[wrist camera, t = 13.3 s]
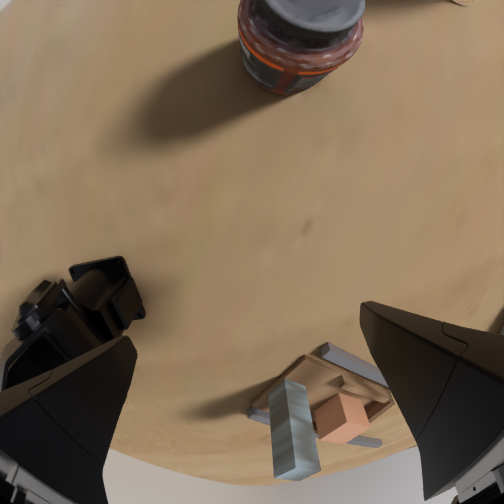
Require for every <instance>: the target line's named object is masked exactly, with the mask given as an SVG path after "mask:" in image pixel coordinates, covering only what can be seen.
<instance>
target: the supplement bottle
mask: <svg viewBox="0 0 504 504" xmlns="http://www.w3.org/2000/svg"><path fill="white" fill-rule="evenodd" d="M364 10H365V0H241V1H240V4H239V8H238V31H239V39H240V47H241V56H242V62H243V65H244V68H245V70H246V73H247V74H248V76H249V77H250V78H251V79H252V80H253V81H254V82H255V83H256V84H257V85H258V86H260V87H261V88H263V89H265V90H268V91H270V92H274V93H278V94H295V93H299V92H302V91H305V90H306V89H309V88H310V87H312V86H314V85H315V84H316V83H318V82H319V81H320V80H321V79H323V78H324V77H325V76H327V75H328V74H329V73H331V72H332V71H334V70H335V69H337V68H338V67H339V66H340V65H342V64H343V63H345V62H346V61H347V60H348V59H350V58H351V57H352V56H353V54H354V53H355V52H356V51H357V49H358V47H359V45H360V43H361V40H362V37H363V31H364V24H363V19H362V16H363V13H364Z"/></svg>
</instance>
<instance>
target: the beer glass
mask: <svg viewBox="0 0 504 504" xmlns="http://www.w3.org/2000/svg"><path fill="white" fill-rule="evenodd" d="M452 1H454V2H455V3H457V4H459V5H462V6H469V5H471V4H472V3H474V2H475V1H476V0H452Z"/></svg>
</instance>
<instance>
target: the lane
mask: <svg viewBox="0 0 504 504" xmlns="http://www.w3.org/2000/svg"><path fill="white" fill-rule="evenodd" d="M320 351H321V355H322V358H324V359H327V360H329V361H331V362H333V363H335V364H337V365H339V366H342V367H344V368H346V369H348V370H350V371H353V372H355V373H357V374H359V375H361V376H364V377H366V378H368V379H371V380H373V381H375V382H378V383H380V384H382V385H385V386H387V387H388V385H387V383H386V381H385V379H384V377H383V376H382V374H381V372H380V370H379V368H378V367H376V366H374V365H372V364H370V363H368V362H366V361H364V360H362V359H360V358H358V357H356V356H354V355H352V354H350V353H348V352H346V351H344V350H342V349H340V348H338V347H336V346H334V345H332V344H330V343H329V342H328V343H326V344H325V345H324V346H323V347H322V348H321V349H320ZM247 412H248V418H249V419H252V420H255V421H258V422H261V423H265V424H268V425H270V413H269V412H266V411H263V410H260V409H257V408H254V407H252V408H250V409H249V410H248V411H247ZM315 437H318V438H319V435H318V434H315ZM347 443H348V444H354V445H360V446H367V447H374V448H378V447H380V446H381V445H383V444H382V441H381V440H380V439H374V438H368V437H363V436H356V437H355V438H353V439H352V440H350V441H348V442H347Z"/></svg>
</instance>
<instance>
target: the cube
mask: <svg viewBox="0 0 504 504" xmlns="http://www.w3.org/2000/svg"><path fill="white" fill-rule="evenodd" d="M314 415H315V420H316V425H317V430H318V435H319V440H323V441H328V442H334V443H340V444H345V443H347V442H348V441H350V440H352V439H353V438H355V437H356V436H358V435H359V434H361V433H362V432H364V431H365V430H367V429H368V428H370V424H369V421H368V418H367V415H366V412H365V409H364V406H363V403H362V401H361V400H359V399H356V398H353V397H350V396H347V395H344V394H341V393H338V394H336V395H335V396H334V397H332V398H331V399H330V400H329V401H327V402H326V403H325V404H323V405H322V406H321V407H319V408H318V409H317V410H315V411H314Z"/></svg>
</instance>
